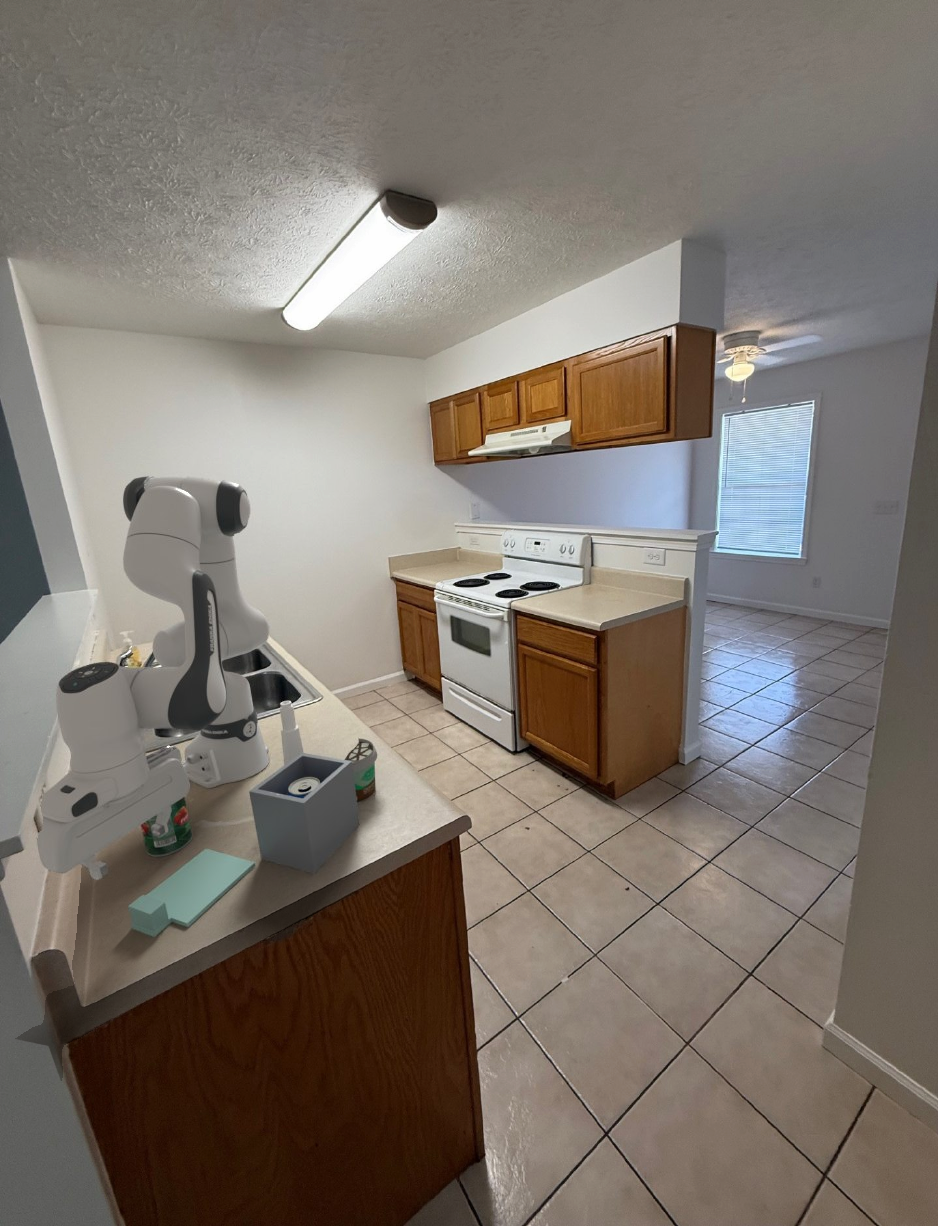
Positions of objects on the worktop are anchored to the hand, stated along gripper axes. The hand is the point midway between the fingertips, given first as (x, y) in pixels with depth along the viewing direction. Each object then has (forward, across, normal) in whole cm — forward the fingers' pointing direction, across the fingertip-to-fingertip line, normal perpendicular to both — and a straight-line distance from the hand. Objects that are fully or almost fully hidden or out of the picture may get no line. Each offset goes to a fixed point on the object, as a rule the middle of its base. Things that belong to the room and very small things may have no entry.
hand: (132, 853), depth 77 cm
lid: (+13, -6, +1) cm, 14 cm away
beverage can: (+12, -24, +13) cm, 30 cm away
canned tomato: (+13, -14, -14) cm, 24 cm away
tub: (+12, -24, +13) cm, 30 cm away
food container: (+13, -41, +14) cm, 45 cm away
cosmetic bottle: (+13, -36, 0) cm, 38 cm away
